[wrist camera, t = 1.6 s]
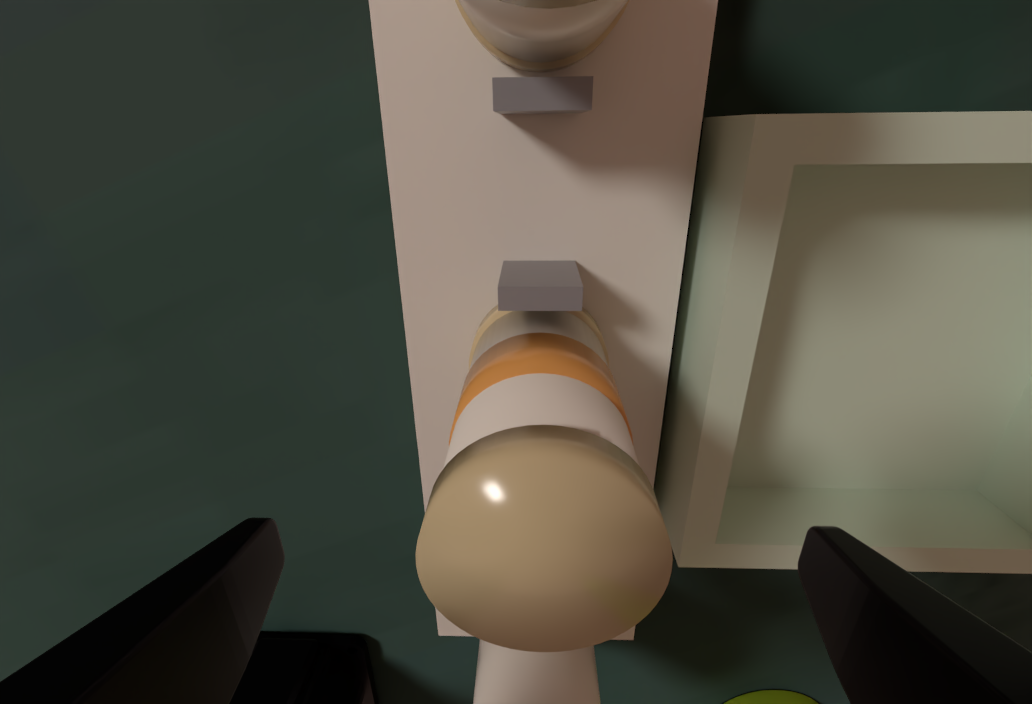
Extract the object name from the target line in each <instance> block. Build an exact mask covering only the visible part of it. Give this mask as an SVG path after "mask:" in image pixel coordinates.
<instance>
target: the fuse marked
mask: <svg viewBox="0 0 1032 704" xmlns="http://www.w3.org/2000/svg"><path fill="white" fill-rule="evenodd" d="M672 561H673V556H672V547H671V543H670V539H669V536H668V532H667V529H666V526H665V523H664V520H663V517H662V514H661V511H660V508H659V505H658V502H657V499H656V496H655V493H654V490H653V488H652V486H651V483H650V481H649V479H648V477H647V476H646V474H645V473H644V472H643V470H642V469H641V467H640V466H639V463H638V460H637V456H636V453H635V450H634V447H633V438H632V433H631V429H630V426H629V423H628V420H627V417H626V413H625V410H624V407H623V404H622V401H621V398H620V395H619V392H618V389H617V386H616V382H615V379H614V377H613V375H612V373H611V371H610V369H609V358H608V352H607V349H606V346H605V343H604V340H603V337H602V334H601V331H600V329H599V327H598V324H597V323H596V321H595V320H594V318H593V317H592V316H591V315H590V313H589V312H588V311H587V310H586V309H585V308H583V307H582V311H498V305H496V306H495V307H494V308H493V309H492V310H491V311H490V312H489V313H488V314H487V315H486V316H485V317H484V319H483V320H482V322H481V323H480V325H479V327H478V329H477V331H476V334H475V338H474V341H473V344H472V348H471V352H470V357H469V372H468V374H467V376H466V378H465V381H464V385H463V388H462V391H461V395H460V399H459V402H458V406H457V410H456V414H455V417H454V421H453V425H452V428H451V432H450V438H449V449H448V453H447V456H446V460H445V464H444V468H443V470H442V471H441V473H440V474H439V476H438V478H437V480H436V482H435V484H434V486H433V489H432V492H431V495H430V498H429V502H428V505H427V509H426V512H425V516H424V519H423V523H422V527H421V530H420V534H419V537H418V541H417V548H416V567H417V572H418V577H419V580H420V582H421V585H422V587H423V589H424V591H425V593H426V595H427V596H428V598H429V600H430V601H431V602H432V603H433V605H434V606H435V607H436V608H437V610H438V611H439V612H440V613H441V614H442V615H443V616H444V617H446V618H447V619H448V620H449V621H450V622H452V623H453V624H454V625H456V626H457V627H458V628H460V629H462V630H463V631H465V632H467V633H468V634H470V635H472V636H474V637H477V638H479V639H481V640H483V641H486V642H489V643H492V644H495V645H498V646H502V647H506V648H510V649H515V650H521V651H530V652H561V651H571V650H576V649H581V648H586V647H590V646H593V645H596V644H600V643H602V642H605V641H607V640H610V639H612V638H615V637H616V636H618V635H620V634H622V633H624V632H626V631H627V630H629V629H630V628H632V627H633V626H635V625H636V624H638V623H639V622H640V621H641V620H642V619H643V618H645V617H646V616H647V615H648V614H649V613H650V612H651V611H652V609H653V608H654V607H655V606H656V605H657V603H658V602H659V600H660V599H661V597H662V596H663V594H664V592H665V590H666V587H667V585H668V583H669V579H670V575H671V572H672Z"/></svg>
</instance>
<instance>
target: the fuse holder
mask: <svg viewBox="0 0 1032 704" xmlns="http://www.w3.org/2000/svg"><path fill="white" fill-rule="evenodd" d="M717 4H718V0H629V2H628V4H627V7H626V9H625V11H624V13H623V14H622V16H621V18H620V19H619V21H618V22H617V24H616V25H615V27H614V28H613V29H612V31H611V32H610V33H609V34H608V36H607V37H606V38H605V39H604V40H603V42H602V43H601V44H600V45H599V46H598V47H597V48H596V49H595V50H594V51H593V52H592V53H590V54H589V55H588V56H586V57H585V58H584V59H582V60H580V61H579V62H577V63H575V64H573V65H571V66H568V67H566V68H563V69H560V70H556V71H551V72H529V71H525V70H520V69H517V68H514V67H512V66H509V65H507V64H505V63H504V62H502V61H500V60H499V59H497V58H496V57H494V56H493V55H492V54H490V53H489V52H488V51H487V50H486V49H485V48H484V47H483V46H482V45H481V43H480V42H479V41H478V40H477V38H476V37H475V36H474V34H473V33H472V31H471V30H470V28H469V27H468V25H467V23H466V22H465V20H464V18H463V17H462V15H461V13H460V11H459V8H458V6H457V4H456V2H455V0H369V7H370V16H371V25H372V35H373V44H374V53H375V62H376V71H377V80H378V89H379V98H380V107H381V116H382V126H383V135H384V144H385V153H386V162H387V171H388V180H389V189H390V198H391V207H392V217H393V226H394V235H395V244H396V253H397V262H398V271H399V280H400V289H401V298H402V308H403V317H404V326H405V335H406V344H407V353H408V362H409V371H410V380H411V389H412V398H413V408H414V417H415V426H416V435H417V444H418V453H419V462H420V471H421V480H422V489H423V499H424V508H425V512H426V509H427V505H428V502H429V498H430V495H431V492H432V489H433V486H434V484H435V482H436V480H437V478H438V476H439V474H440V473H441V471H442V470H443V468H444V464H445V460H446V456H447V453H448V449H449V438H450V432H451V428H452V425H453V421H454V417H455V414H456V410H457V406H458V402H459V399H460V395H461V391H462V388H463V385H464V381H465V378H466V376H467V374H468V372H469V357H470V352H471V348H472V344H473V341H474V338H475V334H476V331H477V329H478V327H479V325H480V323H481V322H482V320H483V319H484V317H485V316H486V315H487V314H488V313H489V312H490V311H491V310H492V309H493V308H494V307H495V306H496V305H498V311H582V307H583V308H585V309H586V310H587V311H588V312H589V313H590V315H591V316H592V317H593V318H594V320H595V321H596V323H597V324H598V327H599V329H600V331H601V334H602V337H603V340H604V343H605V346H606V349H607V352H608V358H609V369H610V371H611V373H612V375H613V377H614V379H615V382H616V386H617V389H618V392H619V395H620V398H621V401H622V404H623V407H624V410H625V413H626V417H627V420H628V423H629V426H630V429H631V433H632V438H633V447H634V450H635V453H636V456H637V460H638V463H639V466H640V467H641V469H642V470H643V472H644V473H645V474H646V476H647V477H648V479H649V481H650V483H651V486H652V488H654V481H655V473H656V466H657V458H658V451H659V443H660V435H661V428H662V420H663V413H664V405H665V398H666V390H667V382H668V375H669V367H670V360H671V352H672V345H673V337H674V330H675V322H676V314H677V307H678V299H679V292H680V284H681V277H682V269H683V261H684V254H685V246H686V239H687V231H688V224H689V216H690V209H691V201H692V193H693V186H694V178H695V171H696V163H697V156H698V148H699V140H700V133H701V125H702V118H703V110H704V103H705V95H706V88H707V80H708V72H709V65H710V57H711V50H712V42H713V35H714V27H715V19H716V12H717ZM435 608H436V607H435ZM436 617H437V626H438V635H439V636H472V635H470V634H468V633H467V632H465V631H463V630H462V629H460V628H458V627H457V626H456V625H454V624H453V623H452V622H450V621H449V620H448V619H447V618H446V617H444V616H443V615H442V614H441V613H440V612H439V611H438V610H437V608H436ZM634 632H635V626H633V627H632V628H630V629H629V630H627V631H626V632H624V633H622V634H620V635H618V636H616V637H615V638H612V639H610V640H634Z"/></svg>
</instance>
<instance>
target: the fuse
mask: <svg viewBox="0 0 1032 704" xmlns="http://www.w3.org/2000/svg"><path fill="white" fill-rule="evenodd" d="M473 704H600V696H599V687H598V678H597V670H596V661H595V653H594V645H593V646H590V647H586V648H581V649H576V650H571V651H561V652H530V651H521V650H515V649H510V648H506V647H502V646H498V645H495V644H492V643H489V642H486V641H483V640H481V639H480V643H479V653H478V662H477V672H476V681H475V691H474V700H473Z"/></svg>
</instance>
